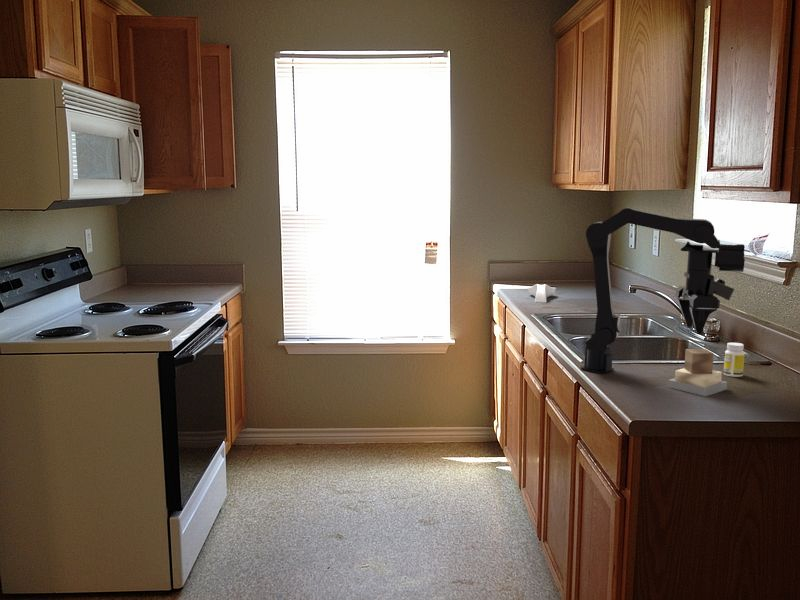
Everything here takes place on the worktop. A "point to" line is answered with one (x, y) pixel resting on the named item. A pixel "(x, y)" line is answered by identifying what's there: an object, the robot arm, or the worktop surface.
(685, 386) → the grey base block
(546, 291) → the spoon rest
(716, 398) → the worktop surface
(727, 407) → the worktop surface
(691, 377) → the birch top block
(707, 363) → the walnut cube
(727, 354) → the supplement bottle
